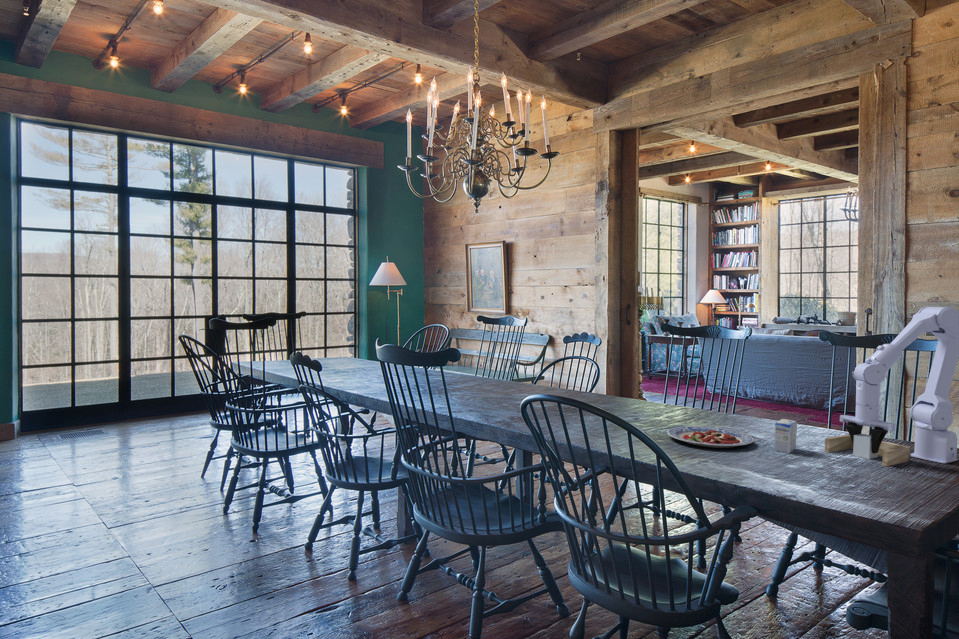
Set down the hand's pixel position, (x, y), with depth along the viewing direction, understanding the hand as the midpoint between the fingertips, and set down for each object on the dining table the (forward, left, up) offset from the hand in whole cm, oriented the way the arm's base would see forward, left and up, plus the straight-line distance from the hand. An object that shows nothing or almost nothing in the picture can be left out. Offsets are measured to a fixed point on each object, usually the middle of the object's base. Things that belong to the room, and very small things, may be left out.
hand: (865, 450), depth 178 cm
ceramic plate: (+34, +27, -2) cm, 43 cm away
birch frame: (0, 0, -2) cm, 2 cm away
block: (0, 0, -2) cm, 2 cm away
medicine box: (+16, +15, -2) cm, 21 cm away
